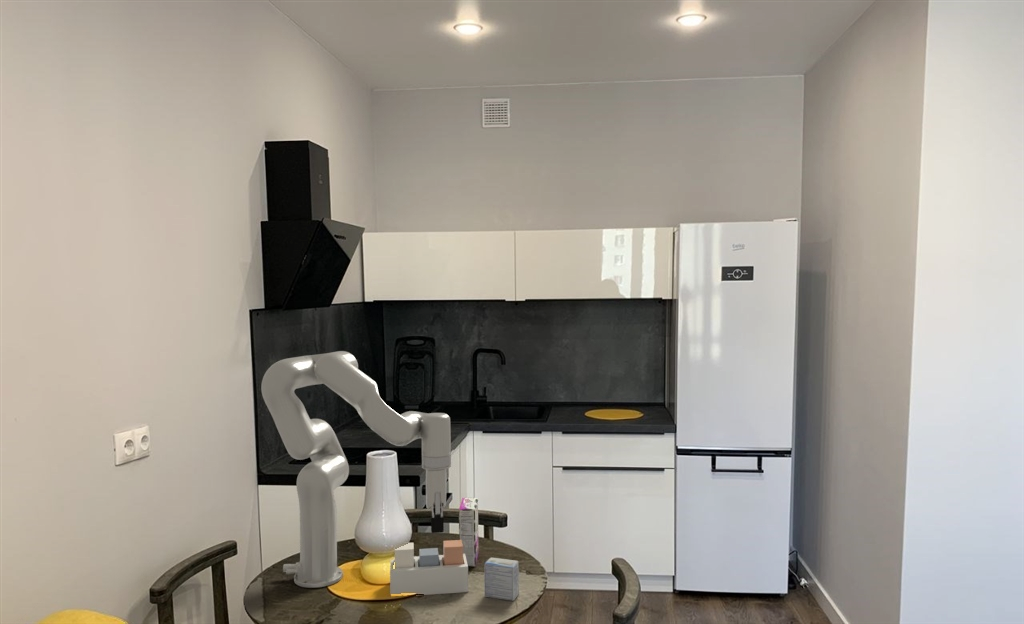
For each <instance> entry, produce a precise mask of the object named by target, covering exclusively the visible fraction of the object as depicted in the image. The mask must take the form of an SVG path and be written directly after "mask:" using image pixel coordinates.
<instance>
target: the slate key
mask: <svg viewBox="0 0 1024 624" xmlns="http://www.w3.org/2000/svg"><path fill="white" fill-rule="evenodd" d="M418 550H419V553H418V554H419V555H418V556H419V567H428V566H439V555H440V554H439V548H438V547H431V548H419V549H418Z"/></svg>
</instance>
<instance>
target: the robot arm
mask: <svg viewBox="0 0 1024 624" xmlns="http://www.w3.org/2000/svg"><path fill="white" fill-rule="evenodd" d="M322 384H323V385H325V387H327V388H328V389H330V390H331V391H332V392H334V393H335V394H337V395H338V396H340V397H341V398H342V399H343V400H344V401H345V402H347V403H348V404H349V405H351V406H352V407H353V408H354V409H355V410H356V411H357V413H358V415H359V416H360V418H361V419H362V421H363V422H364V423H365V424H366V425H367V427H369V428H370V430H372V431H373V432H374V433H375V434H377V435H378V436H379V437H381V438H382V439H384V440H385V441H386V442H387V443H390V444H391V445H393V446H396V447H403V446H404V447H405V446H407V445H408V444H410V443H412V442H413V441H416V440H418V439H421V469H423V470H425V504H426V506H425V507H426V508H427V509H428V510H429V509H431V515H430V531H431V533H432V534H437V533H444V530H445V529H444V528H445V526H444V525H445V524H444V523H445V522H444V521H445V519H444V518H445V517H444V511H443V510H444V508H445V507H446V504H447V503H446V502H447V482H448V481H447V480H448V479H447V475H448V474H447V470H448V469H450V468H451V467H452V454H451V453H452V452H451V451H452V444H451V440H452V438H451V435H452V434H451V431H452V430H451V417H450V416H449V415H448V414H447V413H445V412H431V413H430V412H429V413H427V412H421V411H414V410H409V411H405V412H403V413H401V414H399V413H398V412H396V411H395V410H394V409H392V408H391V406H389V405H387V404H386V402H385V401H384V400H383V399H382V398H381V396H380V393H379V389H378V384H377V382H376V381H375V380H374V379H372V378H371V377H370V376H369V375H367V374H366V373H364V372H363V371H362V370H360V369H359V363H358V359H356V357H355V355H353V354H352V353H350V352H349V351H346V350H338V351H333V352H327V353H319V354H312V355H311V354H309V355H308V354H307V355H302V356H294V357H289V358H284V359H280V360H278V361H277V362H274V363H273V364H272V365H270V367H268V369H267V370H266V371H265V373H264V375H263V377H262V380H261V395H262V398H263V401H264V403H265V405H266V406H267V409H268V411H269V413H270V415H271V417H272V419H273V422H274V424H275V427H276V429H277V431H278V433H279V434H278V435H280V438H281V441H282V443H283V444H284V447H285V449H286V451H287V453H288V455H289V456H290V457H291V458H293V459H295V460H300V461H301V460H302V461H303V460H305V459H309V458H310V460H311V461H310V462H308V463H307V464H306V465H304V467H302V469H301V470H300V471H299V473H298V475H297V478H296V492H297V496H298V497H297V499H298V503H299V504H298V505H299V561H298V562H297V561H296V562H295V563H284V564H283V567H282V572H283V573H285V574H286V575H293V574H294V576H293V582H294V584H296V585H297V586H299V587H301V588H308V589H313V588H315V589H316V588H323V587H327V586H331V585H334V584H335V583H339V581H340V580H342V578H343V576H344V571H343V569H342V568H341V567H340V566H338V517H337V514H338V513H337V512H338V511H337V504H336V500H335V499H336V498H335V495H334V493H335V492H334V490H336V489H337V488H339V487H340V486H342V485H343V484H344V483H345V482H346V481H347V479H348V477H349V474H350V467H349V463H348V462H349V461H348V459H347V457H346V455H345V453H344V451H343V448H342V446H341V443H340V441H339V439H338V437H337V434H336V433H335V431H334V430H333V428H332V426H331V425H330V424H329V423H328V422H327V421H326V420H324V419H321V418H310V416H309V414H308V412H307V410H306V408H305V405H304V403H303V402H302V401H301V399H300V398H299V397H298V396H297V395H296V393H295V390H296V389H301V388H305V387H309V386H315V385H322Z"/></svg>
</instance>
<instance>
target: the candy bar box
mask: <svg viewBox="0 0 1024 624" xmlns="http://www.w3.org/2000/svg"><path fill="white" fill-rule="evenodd" d="M458 538H459V539H458V540H462V544H463V554H465V556H466V560H467V564H468V568H469V567H471V568H472V567H473V568H474V567H476V566H477V562H478V556H479V552H480V551H479V550H480V549H479V498H478V497H462V499H461V502H460V504H459V507H458Z"/></svg>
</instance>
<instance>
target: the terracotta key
mask: <svg viewBox="0 0 1024 624" xmlns="http://www.w3.org/2000/svg"><path fill="white" fill-rule="evenodd" d="M442 542H443V548H442V549H443V550H442V551H443V554H442V555H443V565H460V564H463V544H462V540H459V539H455V540H452V539H451V540H443V541H442Z"/></svg>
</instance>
